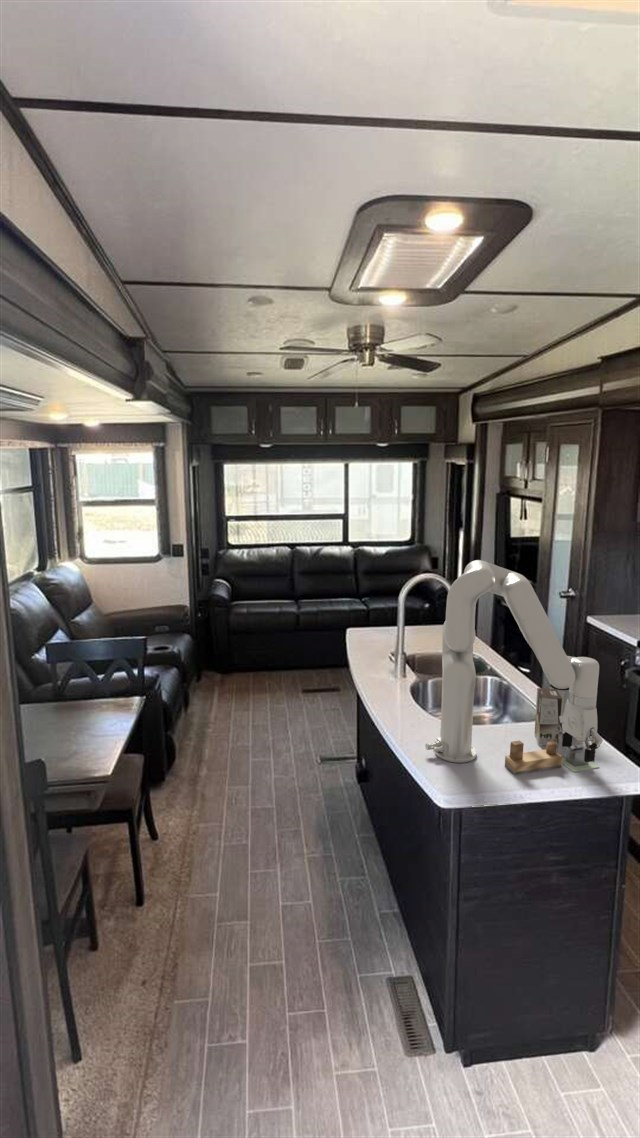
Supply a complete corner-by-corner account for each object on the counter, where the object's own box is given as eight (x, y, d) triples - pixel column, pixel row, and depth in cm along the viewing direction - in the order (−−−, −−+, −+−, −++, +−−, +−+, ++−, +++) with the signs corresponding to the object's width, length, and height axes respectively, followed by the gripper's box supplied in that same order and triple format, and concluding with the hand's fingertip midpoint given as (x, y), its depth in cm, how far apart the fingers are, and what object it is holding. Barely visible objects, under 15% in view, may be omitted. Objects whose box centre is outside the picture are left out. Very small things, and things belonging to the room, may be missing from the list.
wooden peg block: (514, 774, 175) (516, 747, 174) (504, 766, 180) (506, 739, 178) (561, 767, 180) (563, 740, 178) (550, 759, 184) (552, 733, 183)
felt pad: (573, 772, 177) (573, 771, 177) (555, 759, 184) (555, 758, 184) (599, 767, 179) (599, 766, 179) (580, 755, 187) (580, 754, 187)
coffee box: (559, 747, 192) (562, 699, 189) (537, 745, 193) (541, 697, 190) (554, 734, 201) (557, 688, 198) (533, 733, 202) (536, 687, 199)
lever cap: (574, 766, 179) (575, 749, 178) (565, 760, 183) (566, 743, 182) (588, 764, 180) (589, 747, 179) (579, 758, 184) (580, 741, 183)
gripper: (552, 690, 185) (548, 742, 188) (592, 712, 169) (587, 769, 172) (573, 687, 187) (568, 739, 190) (614, 709, 171) (609, 765, 174)
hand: (577, 753), depth 181 cm, fingers open, 9 cm apart
